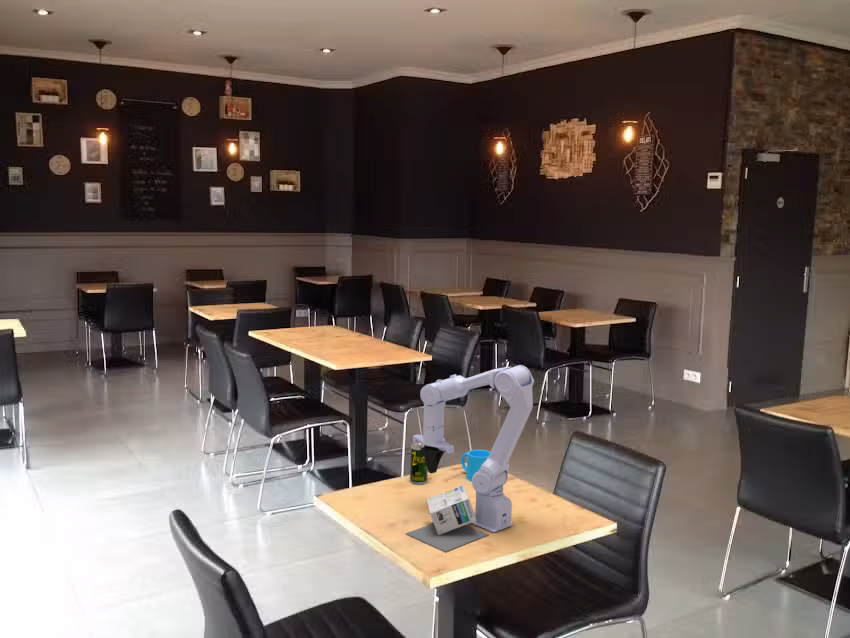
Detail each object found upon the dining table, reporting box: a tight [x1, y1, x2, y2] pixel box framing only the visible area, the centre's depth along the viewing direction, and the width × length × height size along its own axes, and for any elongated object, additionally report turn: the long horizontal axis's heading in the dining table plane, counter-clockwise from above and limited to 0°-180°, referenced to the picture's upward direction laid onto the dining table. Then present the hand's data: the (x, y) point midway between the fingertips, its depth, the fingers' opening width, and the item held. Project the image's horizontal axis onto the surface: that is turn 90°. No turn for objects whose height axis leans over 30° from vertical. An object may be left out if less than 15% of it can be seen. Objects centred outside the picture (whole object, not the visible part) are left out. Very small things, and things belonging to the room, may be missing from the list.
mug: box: [460, 449, 491, 483], centre depth 251 cm, size 12×8×8 cm
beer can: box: [409, 442, 429, 485], centre depth 245 cm, size 5×5×12 cm
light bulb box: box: [425, 484, 476, 535], centre depth 209 cm, size 11×7×11 cm
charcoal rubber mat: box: [405, 522, 490, 553], centre depth 206 cm, size 14×16×1 cm
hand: (432, 472), depth 223 cm, fingers closed
